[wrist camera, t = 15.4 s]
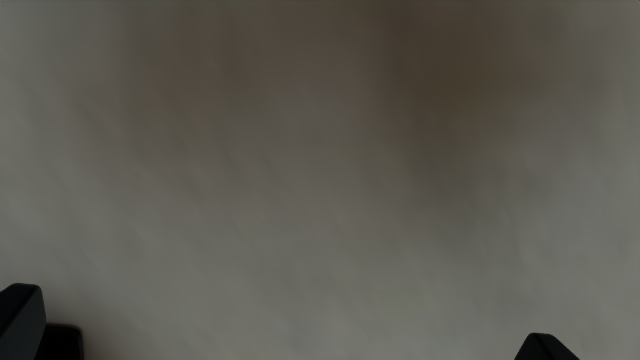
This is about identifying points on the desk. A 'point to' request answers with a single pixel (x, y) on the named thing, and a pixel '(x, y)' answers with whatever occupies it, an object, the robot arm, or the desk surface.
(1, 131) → the desk surface
